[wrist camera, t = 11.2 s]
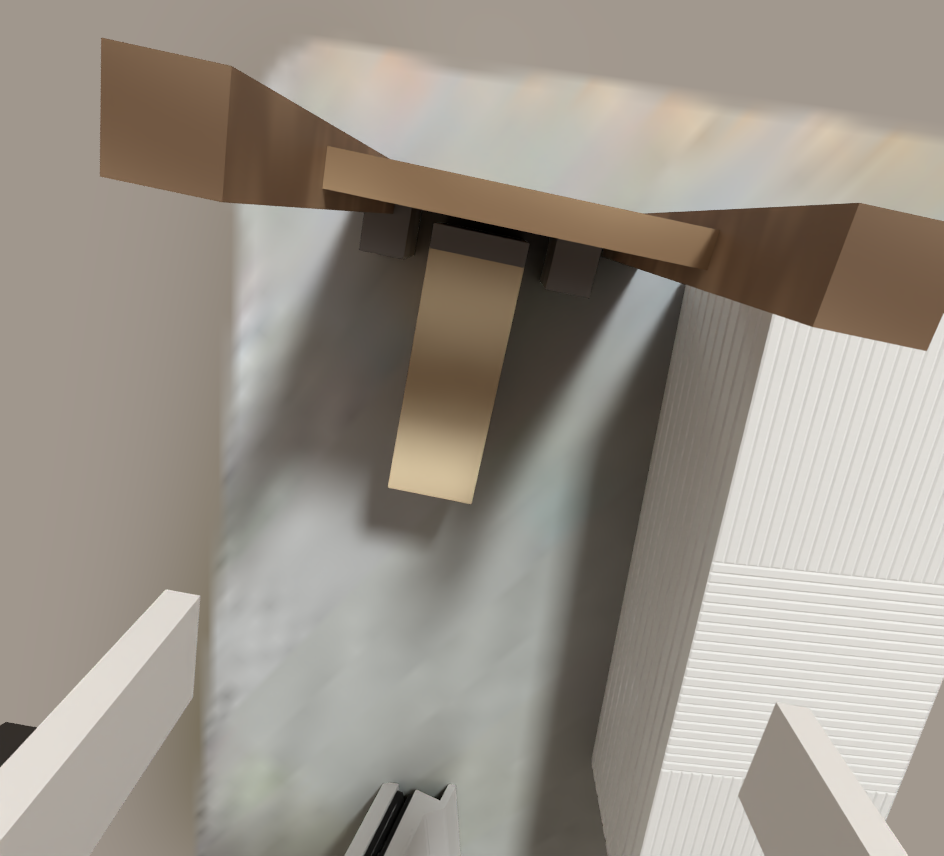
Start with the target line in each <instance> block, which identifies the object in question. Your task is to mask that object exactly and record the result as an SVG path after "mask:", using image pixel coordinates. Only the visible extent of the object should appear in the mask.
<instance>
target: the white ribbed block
mask: <svg viewBox="0 0 944 856" xmlns="http://www.w3.org/2000/svg"><path fill="white" fill-rule="evenodd" d="M943 678H944V313H943V316H942V318H941V320H940V322H939V325H938V327H937V329H936V332H935V334H934V336H933V338H932V341H931V343H930V345H929V347H928V350H927V351H923V350H919V349H914V348H909V347H904V346H900V345H895V344H890V343H886V342H881V341H876V340H871V339H867V338H862V337H857V336H852V335H848V334H843V333H838V332H834V331H829V330H824V329H819V328H815V327H811V326H808V325H805V324H802V323H799V322H796V321H793V320H790V319H787V318H784V317H781V316H778V315H775V314H772V313H769V312H766V311H763V310H760V309H757V308H754V307H751V306H748V305H745V304H742V303H739V302H736V301H733V300H730V299H727V298H724V297H721V296H718V295H715V294H712V293H709V292H706V291H703V290H700V289H697V288H694V287H691V286H688V285H686V286H685V291H684V296H683V301H682V306H681V312H680V317H679V322H678V327H677V332H676V337H675V342H674V347H673V352H672V357H671V362H670V367H669V372H668V377H667V382H666V387H665V392H664V397H663V402H662V407H661V412H660V417H659V422H658V427H657V432H656V438H655V443H654V448H653V453H652V458H651V463H650V468H649V473H648V478H647V483H646V488H645V493H644V498H643V503H642V508H641V513H640V518H639V523H638V528H637V533H636V538H635V543H634V548H633V553H632V558H631V564H630V569H629V574H628V579H627V584H626V589H625V594H624V599H623V604H622V609H621V614H620V619H619V624H618V629H617V634H616V639H615V644H614V649H613V654H612V659H611V664H610V669H609V674H608V679H607V684H606V690H605V695H604V700H603V705H602V710H601V715H600V720H599V725H598V730H597V735H596V740H595V745H594V750H593V755H592V760H591V763H592V769H593V770H594V772H593V775H594V780H595V783H596V792H597V796H598V803H599V809H600V810H601V813H600V814H601V820H602V824H604V825H603V831H604V837H605V839H606V848H607V854H608V855H609V856H764V853H763V851H762V849H761V847H760V844H759V842H758V840H757V838H756V835H755V833H754V831H753V828H752V826H751V824H750V822H749V819H748V817H747V815H746V813H745V810H744V808H743V806H742V803H741V801H740V799H739V797H738V794H739V792H740V789H741V787H742V784H743V782H744V779H745V777H746V775H747V772H748V770H749V767H750V765H751V762H752V760H753V757H754V755H755V753H756V750H757V748H758V745H759V743H760V740H761V738H762V735H763V733H764V731H765V728H766V726H767V723H768V721H769V718H770V716H771V713H772V711H773V709H774V706H775V704H776V702H779V703H784V704H789V705H795V706H800V707H806V708H809V709H810V710H811V712H812V713H813V715H814V716H815V718H816V719H817V721H818V722H819V724H820V725H821V727H822V728H823V730H824V731H825V733H826V734H827V736H828V737H829V739H830V740H831V742H832V743H833V745H834V746H835V748H836V749H837V751H838V752H839V754H840V755H841V757H842V758H843V759H844V761H845V762H846V764H847V765H848V767H849V768H850V770H851V771H852V773H853V774H854V776H855V777H856V779H857V780H858V782H859V783H860V785H861V786H862V788H863V789H864V791H865V792H866V794H867V795H868V797H869V798H870V800H871V801H872V803H873V804H874V806H875V807H876V808H877V810H878V811H879V813H880V814H881V816H882V817H883V819H884V820H885V821H886V819H887V816H888V814H889V811H890V809H891V806H892V804H893V801H894V799H895V796H896V794H897V792H898V788H899V787H900V784H901V782H902V779H903V777H904V774H905V772H906V769H907V767H908V764H909V762H910V760H911V757H912V755H913V752H914V750H915V747H916V745H917V742H918V740H919V737H920V735H921V733H922V730H923V728H924V725H925V723H926V720H927V718H928V715H929V712H930V710H931V708H932V705H933V703H934V700H935V698H936V695H937V693H938V691H939V688H940V686H941V683H942V681H943Z"/></svg>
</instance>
